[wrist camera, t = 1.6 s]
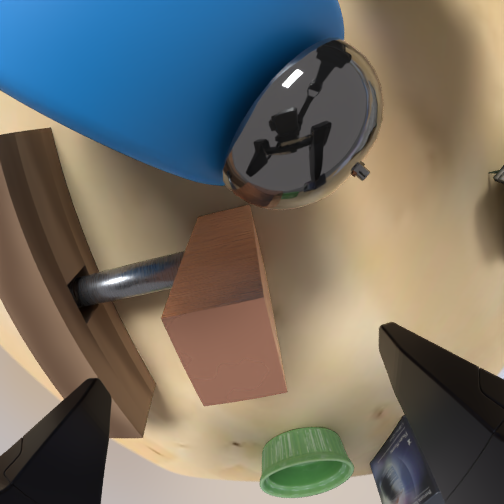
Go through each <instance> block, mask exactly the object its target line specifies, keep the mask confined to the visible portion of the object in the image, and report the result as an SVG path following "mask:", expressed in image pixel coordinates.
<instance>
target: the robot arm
mask: <svg viewBox="0 0 504 504" xmlns="http://www.w3.org/2000/svg"><path fill="white" fill-rule="evenodd" d="M379 351H380V354H381V357H382V360H383V362H384V365H385V368H386V370H387V373H388V376H389V379H390V382H391V384H392V387H393V390H394V393H395V395H396V397H397V399H398V401H399V403H400V405H401V407H402V409H403V411H404V413H405V415H406V418H407V420H408V422H409V424H410V426H411V428H412V430H413V432H414V434H415V436H416V439H417V441H418V443H419V445H420V447H421V449H422V452H423V454H424V456H425V458H426V460H427V463H428V465H429V467H430V469H431V472H432V474H433V476H434V478H435V481H436V483H437V485H438V488H439V490H440V492H441V495H442V497H443V500H444V501H445V504H504V379H502V378H500V377H498V376H496V375H494V374H492V373H490V372H488V371H486V370H484V369H482V368H479V367H478V366H476V365H474V364H472V363H470V362H468V361H467V360H465V359H463V358H461V357H459V356H457V355H455V354H453V353H451V352H449V351H447V350H446V349H444V348H442V347H440V346H438V345H436V344H434V343H432V342H430V341H428V340H426V339H424V338H423V337H421V336H419V335H417V334H415V333H413V332H411V331H409V330H407V329H405V328H403V327H402V326H400V325H398V324H396V323H394V322H389V323H386V324H383V325H381V326H380V327H379ZM111 404H112V398H111V395H110V393H109V391H108V390H107V389H106V387H105V386H104V384H103V383H102V381H101V380H100V379H99V378H88V379H87V380H85V381H84V382H83V383H82V384H81V385H80V386H79V387H77V388H76V389H75V390H74V391H73V392H72V393H71V394H70V395H69V396H67V397H66V398H65V399H64V400H63V401H62V402H61V403H60V404H59V405H58V406H57V407H55V408H54V409H53V410H52V411H51V412H50V413H49V414H47V415H46V416H45V417H44V418H43V419H42V420H41V421H40V422H38V424H36V425H35V426H34V427H33V428H32V429H31V430H30V431H29V432H28V433H26V434H25V435H24V436H23V438H21V439H20V440H19V441H18V442H16V443H15V444H14V445H13V446H12V447H11V448H10V449H8V450H7V451H6V452H5V453H3V454H2V455H1V456H0V504H101V495H102V486H103V478H104V470H105V463H106V455H107V449H108V442H109V433H110V417H111Z"/></svg>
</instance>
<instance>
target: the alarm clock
mask: <svg viewBox="0 0 504 504" xmlns="http://www.w3.org/2000/svg"><path fill="white" fill-rule="evenodd" d="M0 90H1V91H2V92H4V93H6V94H8V95H9V96H11V97H13V98H14V99H16V100H18V101H19V102H21V103H23V104H25V105H27V106H28V107H30V108H32V109H34V110H36V111H37V112H39V113H41V114H43V115H45V116H47V117H49V118H51V119H52V120H54V121H56V122H58V123H60V124H62V125H64V126H66V127H68V128H70V129H72V130H74V131H76V132H78V133H80V134H82V135H84V136H86V137H88V138H90V139H92V140H94V141H96V142H98V143H101V144H103V145H105V146H107V147H109V148H111V149H114V150H116V151H118V152H120V153H122V154H124V155H127V156H129V157H131V158H134V159H136V160H138V161H141V162H143V163H145V164H148V165H150V166H153V167H155V168H158V169H160V170H163V171H165V172H168V173H171V174H173V175H176V176H179V177H182V178H185V179H188V180H192V181H195V182H199V183H203V184H208V185H220V186H223V185H226V187H227V188H228V189H229V190H231V191H232V192H233V193H234V194H235V195H237V196H238V197H240V198H241V199H243V200H244V201H246V202H248V203H250V204H252V205H255V206H258V207H261V208H264V209H272V210H288V209H296V208H300V207H303V206H307V205H310V204H313V203H316V202H317V201H319V200H321V199H323V198H325V197H327V196H329V195H331V194H332V193H333V192H334V191H336V190H337V189H338V188H339V187H340V186H341V185H342V184H343V183H344V182H345V181H346V180H347V179H348V178H349V177H350V176H351V175H352V176H354V177H355V176H357V177H358V178H359V179H360V180H361V181H363V180H364V179H365V178H366V177H367V176H368V174H369V173H370V171H369V170H368V169H367V168H365V167H364V165H365V164H364V163H363V162H362V161H363V160H364V159H365V158H366V156H367V155H368V153H369V152H370V150H371V148H372V147H373V145H374V143H375V142H376V140H377V138H378V135H379V131H380V128H381V124H382V120H383V107H384V102H383V94H382V87H381V84H380V82H379V79H378V77H377V74H376V71H375V69H374V68H373V66H372V65H371V63H370V62H369V61H368V59H367V58H366V56H364V55H363V54H362V53H361V52H360V51H359V50H357V49H356V48H355V47H354V46H352V45H351V44H349V43H347V42H346V41H344V24H343V17H342V13H341V9H340V5H339V3H338V0H0Z"/></svg>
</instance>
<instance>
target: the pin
mask: <svg viewBox="0 0 504 504" xmlns="http://www.w3.org/2000/svg"><path fill="white" fill-rule="evenodd" d="M67 286H68V288H69V290H70V292H71V294H72V296H73V299H74V301H75V303H76V305H77V307H78V308H80V307H85V306H90V305H95V304H100V303H105V302H110V301H115V300H120V299H125V298H130V297H134V296H139V295H144V294H149V293H153V292H158V291H163V290H168V289H171V291H170V294H169V297H168V300H167V303H166V306H165V308H164V311H163V314H162V317H161V319H162V321H163V324H164V326H165V328H166V330H167V333H168V335H169V337H170V339H171V341H172V343H173V346H174V348H175V350H176V352H177V354H178V356H179V358H180V360H181V362H182V364H183V366H184V368H185V370H186V372H187V374H188V376H189V378H190V380H191V382H192V384H193V386H194V388H195V390H196V392H197V394H198V396H199V398H200V400H201V401H202V403H203V405H204V406H209V405H216V404H223V403H230V402H237V401H243V400H249V399H254V398H260V397H265V396H271V395H276V394H281V393H286V392H287V387H286V381H285V375H284V370H283V364H282V359H281V353H280V348H279V342H278V336H277V331H276V325H275V320H274V314H273V309H272V303H271V298H270V293H269V287H268V282H267V276H266V271H265V266H264V262H263V257H262V253H261V249H260V245H259V241H258V236H257V232H256V228H255V224H254V220H253V216H252V211H251V207H250V204H249V205H245V206H241V207H237V208H232V209H228V210H224V211H220V212H216V213H212V214H208V215H204V216H200V217H198V219H197V221H196V224H195V227H194V229H193V232H192V234H191V237H190V240H189V242H188V245H187V247H186V250H185V251H183V252H179V253H175V254H171V255H167V256H163V257H158V258H154V259H150V260H146V261H142V262H138V263H134V264H130V265H126V266H122V267H118V268H114V269H110V270H106V271H102V272H98V273H94V274H90V275H86V276H82V277H78V278H74V279H72V280H71V281H70V282H69V284H68V285H67Z"/></svg>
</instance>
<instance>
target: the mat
mask: <svg viewBox="0 0 504 504" xmlns="http://www.w3.org/2000/svg"><path fill="white" fill-rule="evenodd" d="M489 173H495V174H496V175H495V176H494V177H493V178H494V180H495V181H497V182H501V183H504V165H503V167H502V168H501V169H500V170H497V171H493V172H489Z"/></svg>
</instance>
